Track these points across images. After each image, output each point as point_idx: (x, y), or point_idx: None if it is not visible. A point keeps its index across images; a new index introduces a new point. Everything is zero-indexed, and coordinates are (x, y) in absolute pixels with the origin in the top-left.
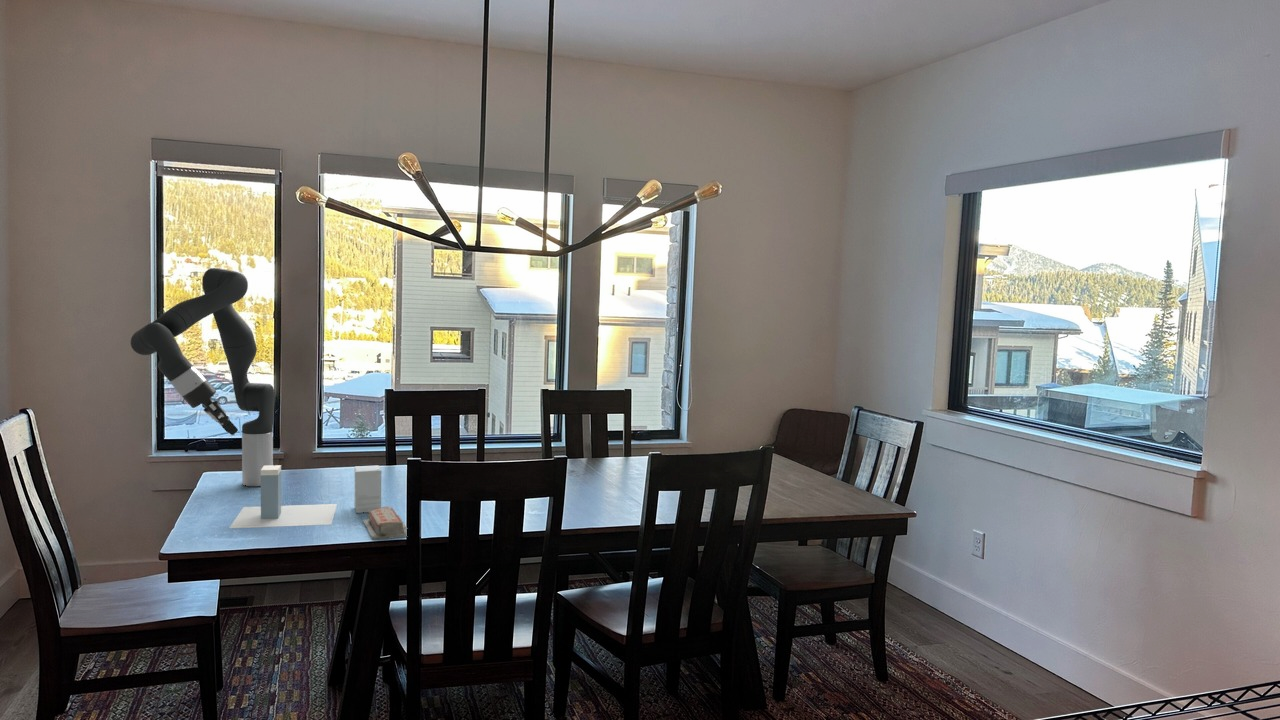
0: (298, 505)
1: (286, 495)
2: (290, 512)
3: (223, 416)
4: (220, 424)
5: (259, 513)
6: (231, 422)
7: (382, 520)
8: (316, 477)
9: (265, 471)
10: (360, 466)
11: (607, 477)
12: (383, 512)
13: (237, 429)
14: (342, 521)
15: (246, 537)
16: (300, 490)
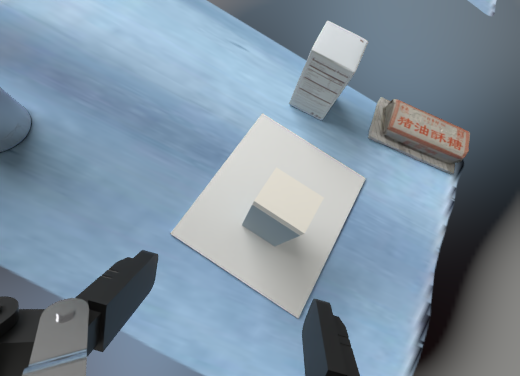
0: (230, 158)
1: (139, 135)
2: None
3: (88, 328)
4: (111, 340)
5: (236, 231)
6: (341, 354)
7: (455, 145)
8: (53, 37)
9: (308, 223)
10: (320, 44)
11: None
12: (421, 123)
13: (329, 305)
14: (350, 156)
15: (358, 310)
16: (123, 102)
